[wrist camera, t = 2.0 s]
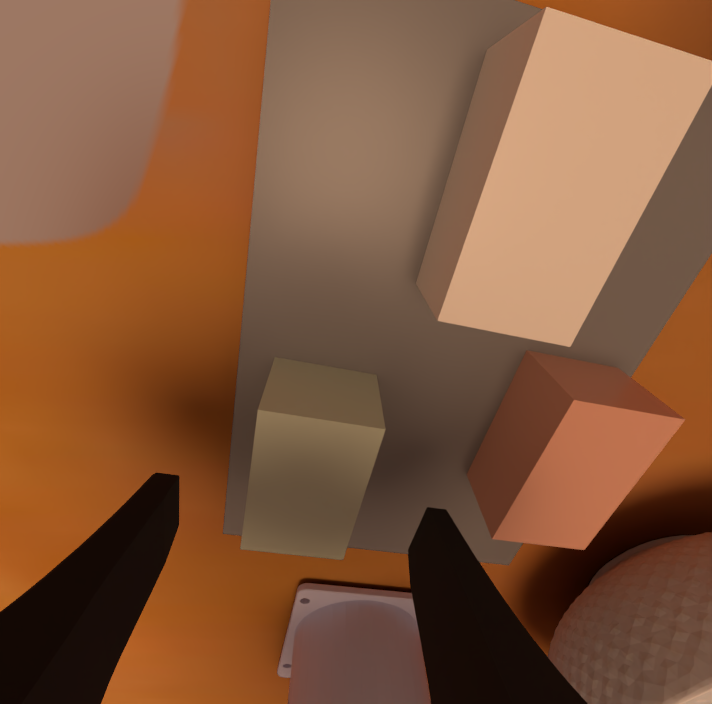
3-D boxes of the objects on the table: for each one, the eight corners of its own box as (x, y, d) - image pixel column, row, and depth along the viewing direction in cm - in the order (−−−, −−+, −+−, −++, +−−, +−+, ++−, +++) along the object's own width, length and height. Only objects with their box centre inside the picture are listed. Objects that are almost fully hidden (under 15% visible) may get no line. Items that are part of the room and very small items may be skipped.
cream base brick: (520, 305, 12) (570, 346, 10) (415, 283, 12) (437, 320, 9) (617, 89, 10) (723, 64, 7) (486, 49, 9) (546, 6, 6)
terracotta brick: (544, 485, 16) (584, 550, 14) (466, 474, 16) (492, 539, 13) (618, 367, 14) (685, 419, 11) (526, 350, 13) (573, 399, 10)
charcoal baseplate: (502, 550, 20) (508, 565, 19) (227, 518, 18) (222, 533, 17) (781, 101, 11) (813, 97, 10) (282, -59, 9) (277, -78, 8)
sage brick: (342, 492, 16) (343, 560, 13) (257, 481, 16) (240, 549, 13) (376, 374, 13) (385, 429, 11) (275, 357, 13) (257, 409, 10)
